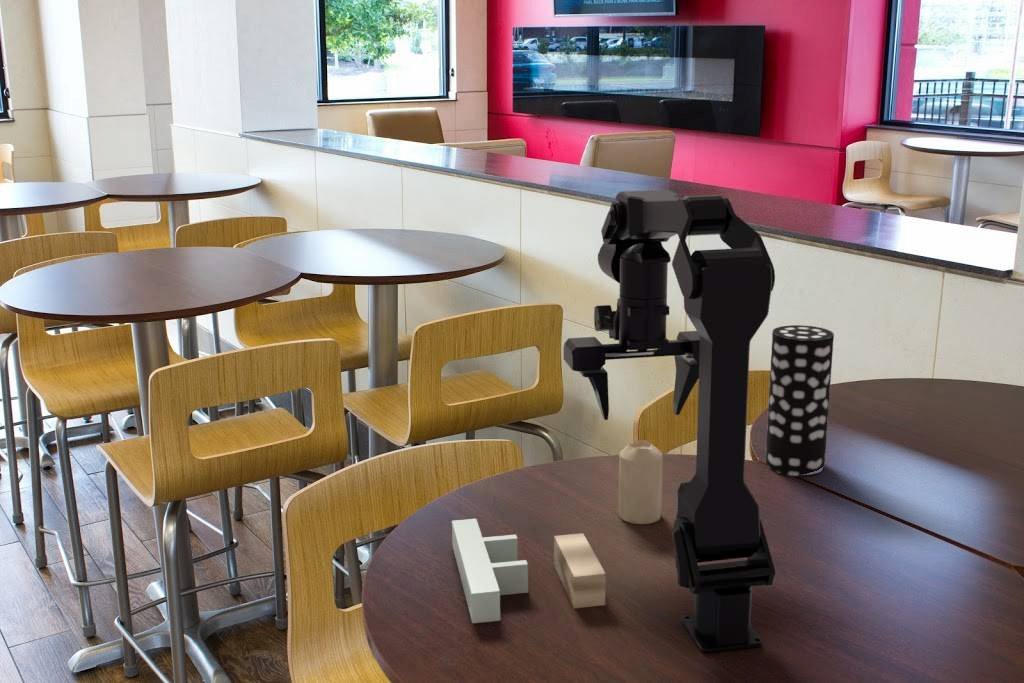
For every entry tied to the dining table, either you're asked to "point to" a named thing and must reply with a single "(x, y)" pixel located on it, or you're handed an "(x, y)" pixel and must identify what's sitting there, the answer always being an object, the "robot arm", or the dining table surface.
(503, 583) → the rail
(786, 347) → the spotted tube
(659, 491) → the candle
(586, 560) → the tan wooden block
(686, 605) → the dining table surface
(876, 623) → the dining table surface
